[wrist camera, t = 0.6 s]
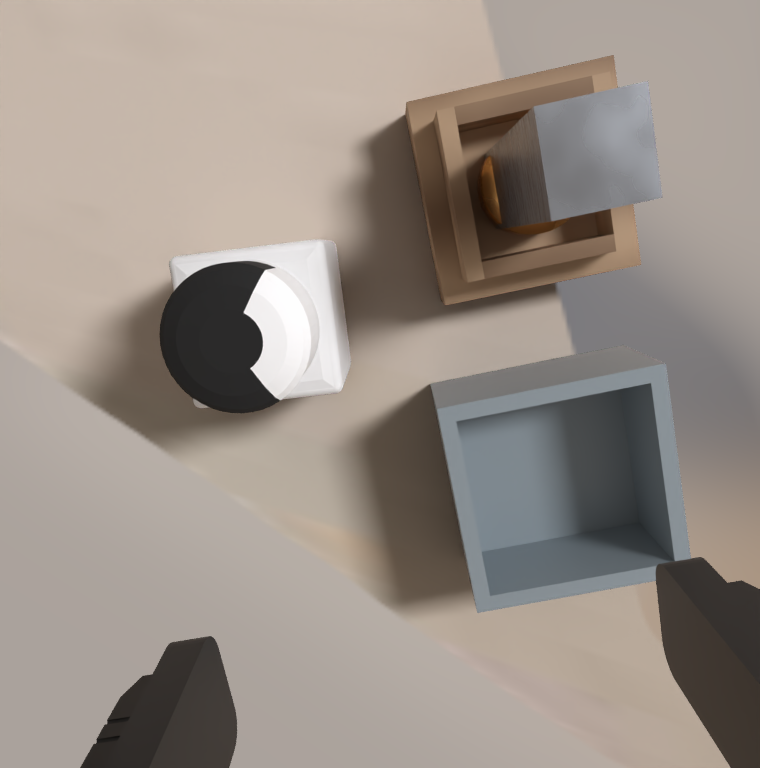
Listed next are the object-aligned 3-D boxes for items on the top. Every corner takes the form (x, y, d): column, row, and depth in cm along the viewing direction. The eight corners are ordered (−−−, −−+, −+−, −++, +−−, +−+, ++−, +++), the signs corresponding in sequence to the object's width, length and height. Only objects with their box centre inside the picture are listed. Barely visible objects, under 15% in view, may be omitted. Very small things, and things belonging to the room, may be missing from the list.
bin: (430, 383, 38) (436, 409, 33) (623, 345, 38) (665, 363, 32) (465, 559, 41) (477, 612, 35) (648, 525, 40) (692, 574, 34)
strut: (469, 145, 33) (511, 90, 21) (567, 123, 33) (664, 56, 21) (486, 244, 34) (536, 243, 22) (582, 223, 34) (683, 212, 22)
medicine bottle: (228, 380, 39) (157, 440, 27) (208, 254, 37) (123, 259, 26) (352, 366, 38) (334, 421, 27) (336, 239, 37) (309, 236, 25)
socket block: (405, 113, 36) (407, 90, 30) (594, 71, 35) (631, 39, 30) (441, 300, 38) (449, 310, 32) (621, 263, 37) (660, 266, 32)
